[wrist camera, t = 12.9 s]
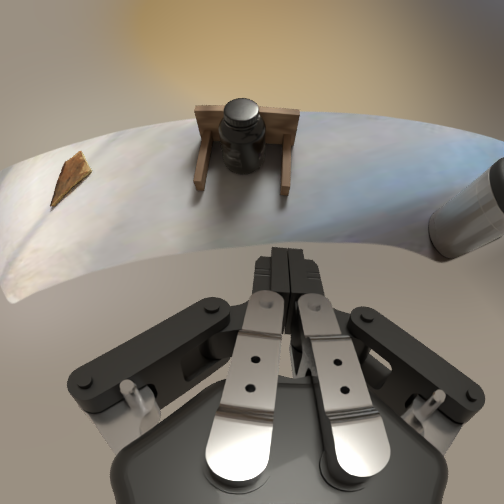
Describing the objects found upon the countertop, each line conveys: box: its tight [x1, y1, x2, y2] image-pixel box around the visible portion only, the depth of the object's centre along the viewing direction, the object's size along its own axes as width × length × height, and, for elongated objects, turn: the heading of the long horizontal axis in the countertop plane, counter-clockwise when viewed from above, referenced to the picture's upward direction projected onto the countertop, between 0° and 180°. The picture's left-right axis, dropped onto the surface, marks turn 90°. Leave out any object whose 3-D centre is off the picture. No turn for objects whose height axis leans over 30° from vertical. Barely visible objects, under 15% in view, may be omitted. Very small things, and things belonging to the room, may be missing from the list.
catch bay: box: [193, 105, 300, 196], centre depth 41 cm, size 16×11×8 cm
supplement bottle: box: [219, 98, 266, 174], centre depth 40 cm, size 7×7×12 cm
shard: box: [50, 151, 92, 206], centre depth 45 cm, size 11×8×2 cm
